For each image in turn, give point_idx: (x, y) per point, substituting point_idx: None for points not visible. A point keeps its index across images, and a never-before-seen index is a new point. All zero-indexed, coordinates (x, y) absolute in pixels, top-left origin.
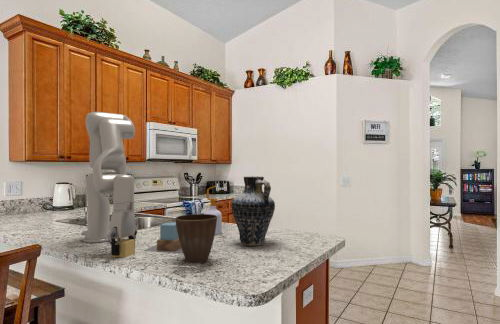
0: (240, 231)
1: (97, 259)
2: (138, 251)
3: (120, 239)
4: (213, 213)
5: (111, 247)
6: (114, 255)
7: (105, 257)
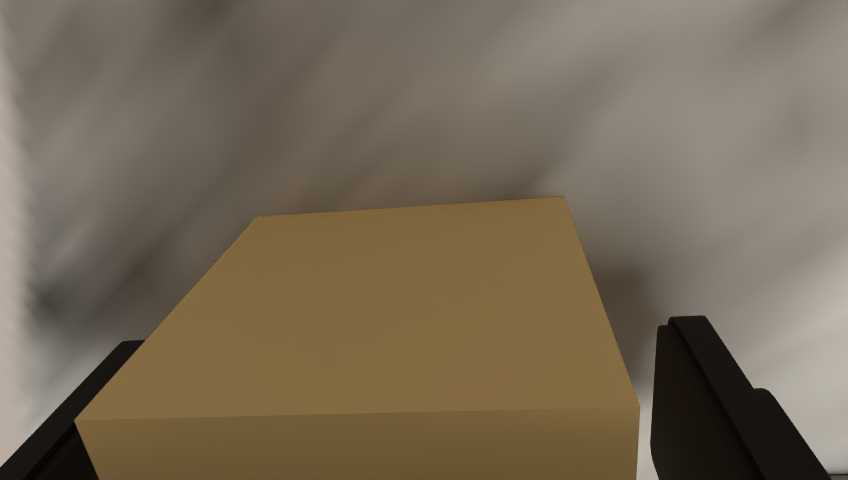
0: None
1: (55, 36)
2: (801, 380)
3: (514, 438)
4: None
5: (31, 446)
6: None
7: (228, 81)
